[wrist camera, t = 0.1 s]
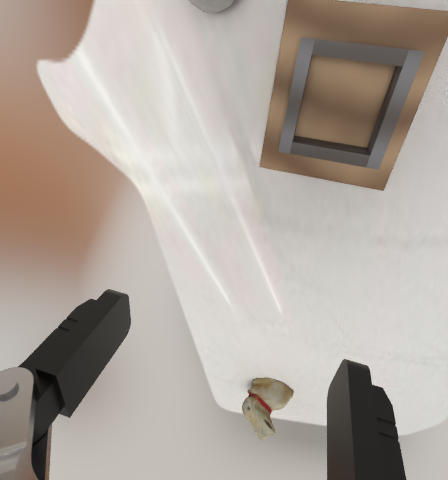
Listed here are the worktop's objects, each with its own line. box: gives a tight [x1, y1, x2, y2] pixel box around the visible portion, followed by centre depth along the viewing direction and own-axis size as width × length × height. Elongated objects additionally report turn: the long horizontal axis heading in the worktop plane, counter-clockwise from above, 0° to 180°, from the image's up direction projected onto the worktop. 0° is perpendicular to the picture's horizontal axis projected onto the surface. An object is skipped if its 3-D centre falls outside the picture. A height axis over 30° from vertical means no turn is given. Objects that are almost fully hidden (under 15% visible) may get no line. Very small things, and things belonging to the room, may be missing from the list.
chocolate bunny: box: [242, 378, 293, 440], centre depth 55 cm, size 6×8×10 cm
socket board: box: [260, 0, 448, 191], centre depth 30 cm, size 16×14×4 cm
